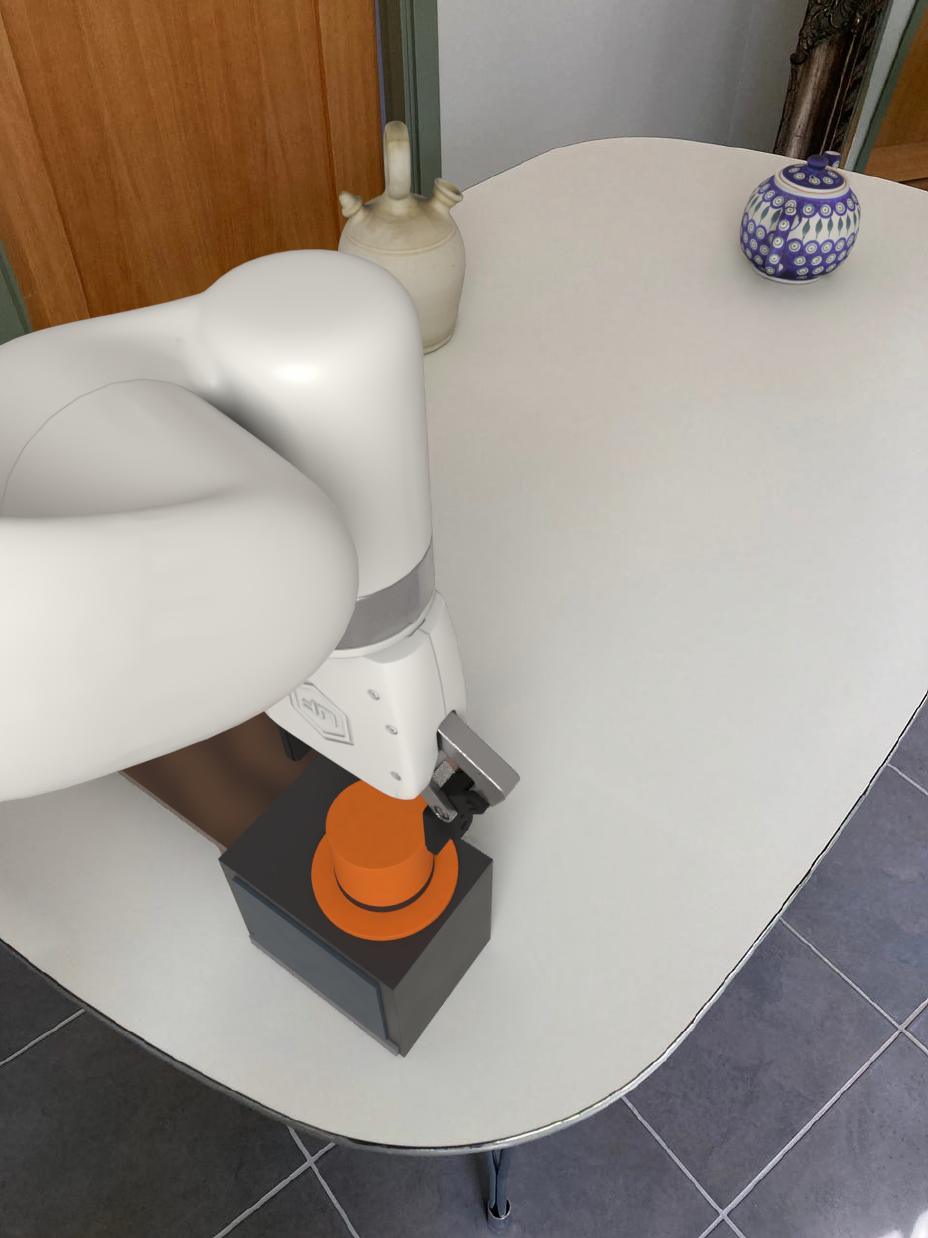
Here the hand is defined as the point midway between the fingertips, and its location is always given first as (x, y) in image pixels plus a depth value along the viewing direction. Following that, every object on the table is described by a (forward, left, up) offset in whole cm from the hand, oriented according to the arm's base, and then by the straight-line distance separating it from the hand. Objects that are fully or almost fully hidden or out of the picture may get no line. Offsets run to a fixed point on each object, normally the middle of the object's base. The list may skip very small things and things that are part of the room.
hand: (377, 785), depth 52 cm
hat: (0, 0, -10) cm, 10 cm away
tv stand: (+3, +23, -22) cm, 32 cm away
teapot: (+106, +16, -22) cm, 110 cm away
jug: (+63, +49, -22) cm, 83 cm away
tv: (-1, +2, -22) cm, 22 cm away
